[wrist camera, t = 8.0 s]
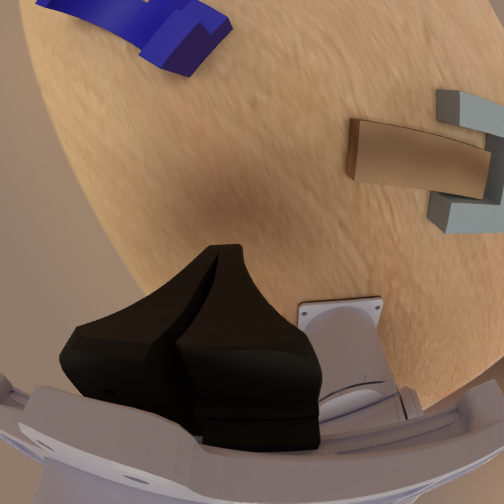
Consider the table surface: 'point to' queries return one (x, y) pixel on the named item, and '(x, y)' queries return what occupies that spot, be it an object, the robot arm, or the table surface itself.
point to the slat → (415, 159)
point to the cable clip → (156, 27)
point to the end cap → (499, 174)
